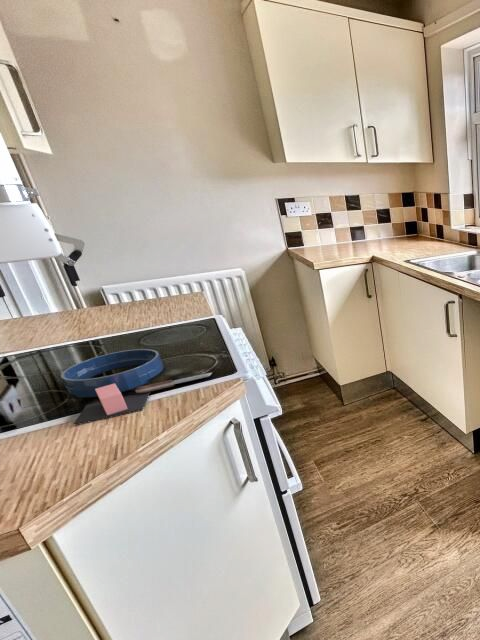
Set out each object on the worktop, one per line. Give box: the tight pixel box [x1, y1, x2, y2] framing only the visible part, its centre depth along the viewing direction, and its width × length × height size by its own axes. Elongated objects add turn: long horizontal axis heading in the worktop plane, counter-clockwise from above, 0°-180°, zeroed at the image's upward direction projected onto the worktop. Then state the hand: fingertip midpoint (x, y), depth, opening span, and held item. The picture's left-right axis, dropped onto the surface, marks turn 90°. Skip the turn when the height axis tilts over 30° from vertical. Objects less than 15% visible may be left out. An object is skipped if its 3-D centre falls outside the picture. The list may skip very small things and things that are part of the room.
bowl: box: [60, 348, 165, 398], centre depth 93 cm, size 16×16×4 cm
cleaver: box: [134, 371, 213, 394], centre depth 92 cm, size 13×2×5 cm
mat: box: [72, 392, 151, 426], centre depth 83 cm, size 10×8×1 cm
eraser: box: [95, 383, 128, 415], centre depth 82 cm, size 3×6×4 cm, turn 49°
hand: (39, 290), depth 81 cm, fingers open, 9 cm apart
